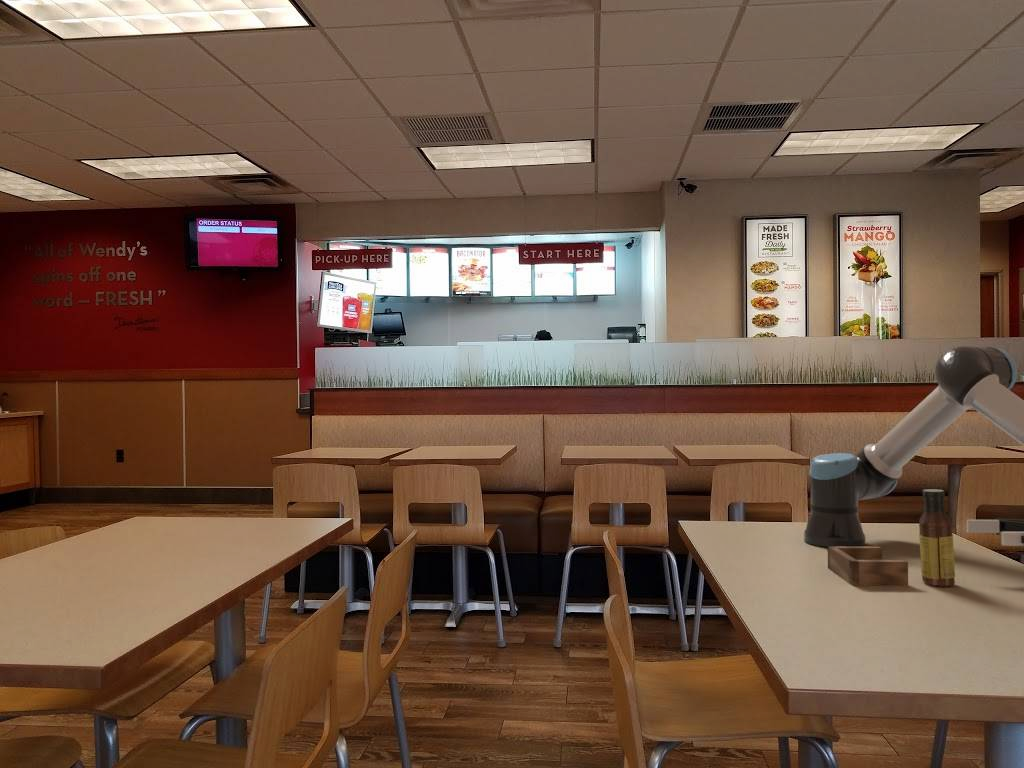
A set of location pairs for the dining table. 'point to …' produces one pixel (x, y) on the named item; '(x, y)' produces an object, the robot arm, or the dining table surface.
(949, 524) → the sauce bottle
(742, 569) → the dining table surface
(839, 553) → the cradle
